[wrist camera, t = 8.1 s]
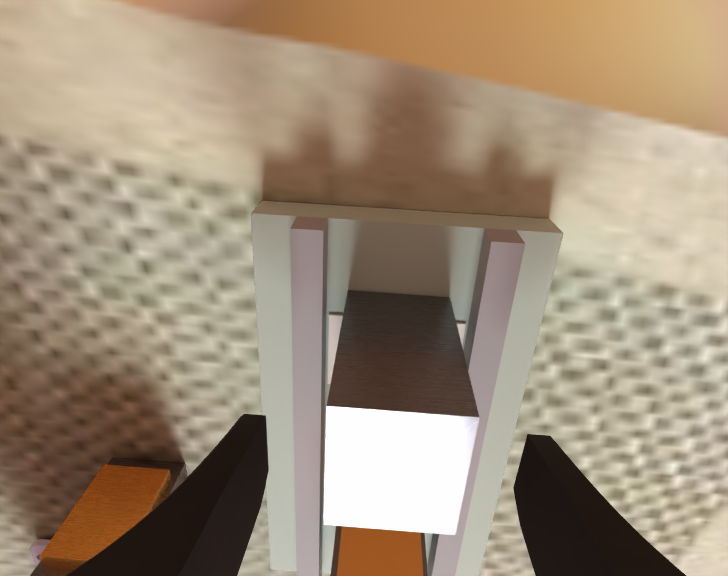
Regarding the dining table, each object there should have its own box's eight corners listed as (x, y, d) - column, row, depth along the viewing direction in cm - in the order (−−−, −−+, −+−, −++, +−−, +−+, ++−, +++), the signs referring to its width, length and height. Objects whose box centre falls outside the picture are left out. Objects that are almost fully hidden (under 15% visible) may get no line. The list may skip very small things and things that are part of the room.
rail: (471, 556, 24) (502, 747, 18) (277, 541, 25) (234, 723, 18) (549, 218, 17) (658, 331, 10) (262, 200, 17) (175, 298, 10)
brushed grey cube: (434, 404, 18) (452, 549, 13) (342, 397, 18) (323, 539, 13) (450, 297, 16) (479, 417, 11) (347, 290, 16) (326, 405, 11)
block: (194, 520, 24) (138, 652, 19) (126, 515, 24) (51, 644, 19) (183, 453, 22) (117, 579, 17) (110, 447, 22) (21, 571, 17)
